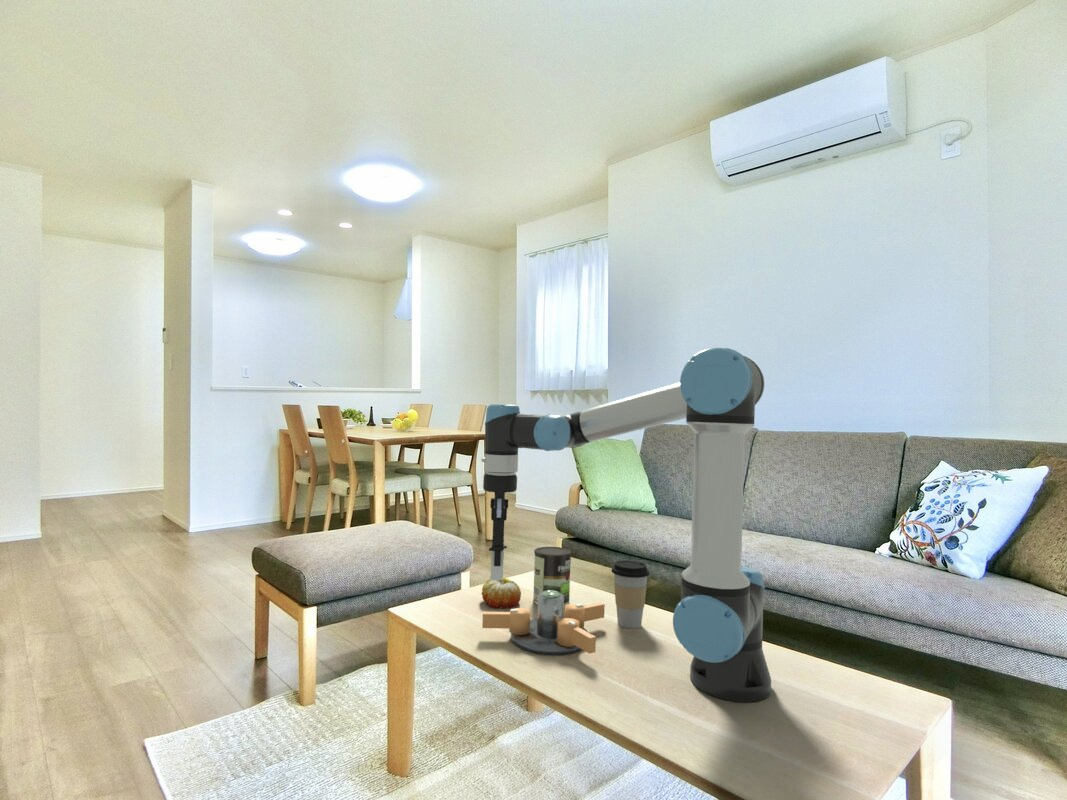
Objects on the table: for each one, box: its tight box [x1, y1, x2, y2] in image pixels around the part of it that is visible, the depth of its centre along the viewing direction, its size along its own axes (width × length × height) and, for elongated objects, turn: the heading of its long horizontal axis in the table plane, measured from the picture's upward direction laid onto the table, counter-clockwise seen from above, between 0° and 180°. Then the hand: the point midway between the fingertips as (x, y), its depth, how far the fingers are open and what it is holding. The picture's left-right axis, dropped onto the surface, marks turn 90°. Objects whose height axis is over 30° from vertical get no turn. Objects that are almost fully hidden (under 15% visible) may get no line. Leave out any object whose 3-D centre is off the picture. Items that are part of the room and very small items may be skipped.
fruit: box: [481, 577, 522, 610], centre depth 155 cm, size 11×10×8 cm
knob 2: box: [563, 601, 606, 629], centre depth 136 cm, size 11×5×5 cm, turn 123°
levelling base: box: [510, 590, 589, 657], centre depth 131 cm, size 18×18×11 cm
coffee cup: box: [611, 559, 650, 629], centre depth 142 cm, size 9×9×15 cm
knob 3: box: [557, 617, 597, 654], centre depth 122 cm, size 11×5×5 cm, turn 33°
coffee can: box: [532, 546, 572, 607], centre depth 157 cm, size 10×10×14 cm
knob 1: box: [481, 607, 532, 635], centre depth 130 cm, size 11×5×5 cm, turn 93°
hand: (496, 579), depth 126 cm, fingers closed
